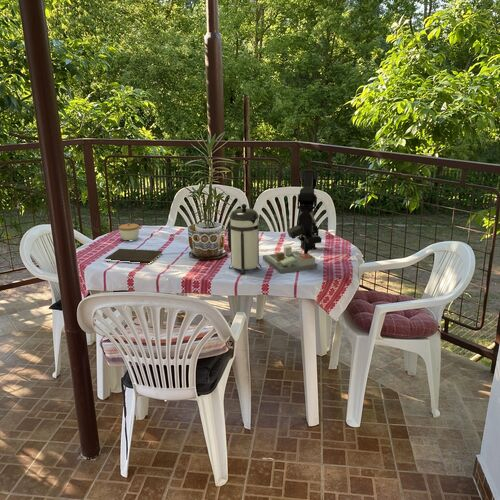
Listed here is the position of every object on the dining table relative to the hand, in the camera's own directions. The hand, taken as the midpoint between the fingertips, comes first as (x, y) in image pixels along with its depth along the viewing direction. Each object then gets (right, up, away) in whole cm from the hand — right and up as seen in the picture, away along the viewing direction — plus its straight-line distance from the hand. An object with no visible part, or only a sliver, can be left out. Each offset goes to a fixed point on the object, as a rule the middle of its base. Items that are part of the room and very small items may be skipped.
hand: (305, 253), depth 233 cm
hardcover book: (-81, -3, +19) cm, 83 cm away
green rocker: (-8, -4, -2) cm, 9 cm away
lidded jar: (-90, +7, +49) cm, 103 cm away
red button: (0, -4, +1) cm, 4 cm away
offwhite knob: (-7, -1, +13) cm, 15 cm away
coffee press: (-28, -7, +2) cm, 29 cm away
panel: (-7, -5, +7) cm, 11 cm away
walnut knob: (-11, -4, +3) cm, 12 cm away
